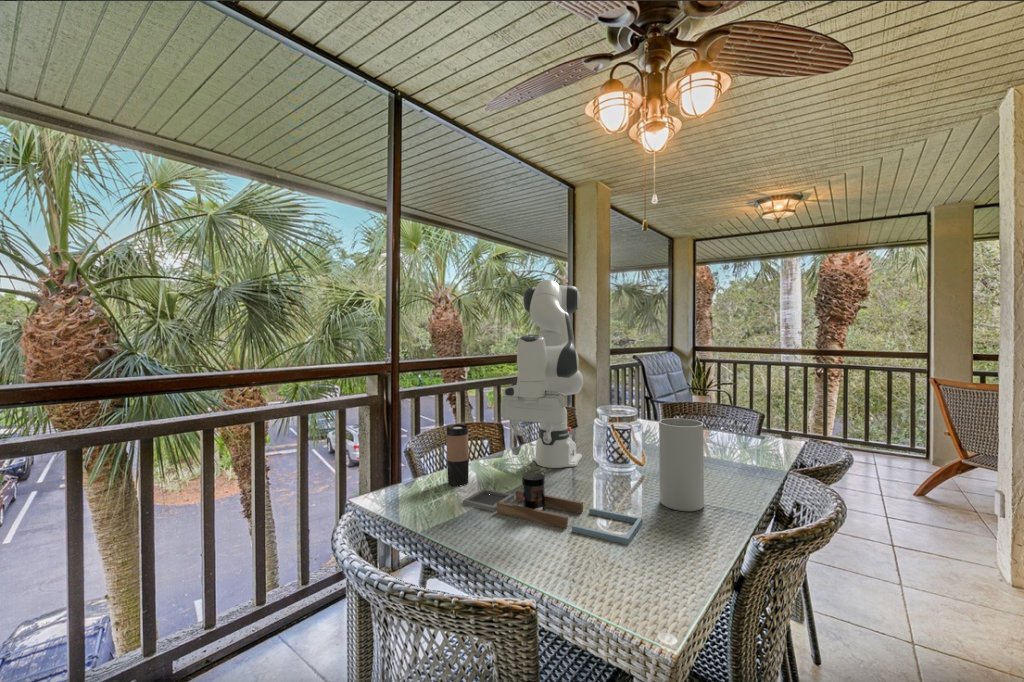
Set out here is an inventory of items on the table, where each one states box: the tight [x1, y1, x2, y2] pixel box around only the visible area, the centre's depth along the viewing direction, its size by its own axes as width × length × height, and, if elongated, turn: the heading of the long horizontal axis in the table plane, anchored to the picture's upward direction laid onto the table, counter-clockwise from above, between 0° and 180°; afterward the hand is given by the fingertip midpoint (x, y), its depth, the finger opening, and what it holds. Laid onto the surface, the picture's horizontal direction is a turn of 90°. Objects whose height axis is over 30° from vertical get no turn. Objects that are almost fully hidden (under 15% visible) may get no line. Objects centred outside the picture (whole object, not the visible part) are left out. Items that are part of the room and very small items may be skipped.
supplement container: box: [521, 472, 546, 511], centre depth 129 cm, size 7×7×10 cm
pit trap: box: [462, 488, 515, 512], centre depth 137 cm, size 12×12×1 cm
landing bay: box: [571, 507, 644, 546], centre depth 117 cm, size 14×15×2 cm
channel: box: [496, 489, 584, 530], centre depth 128 cm, size 12×22×3 cm, turn 59°
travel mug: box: [446, 424, 470, 487], centre depth 154 cm, size 8×8×20 cm
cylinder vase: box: [658, 417, 705, 513], centre depth 132 cm, size 12×12×25 cm
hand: (532, 436), depth 128 cm, fingers open, 8 cm apart
